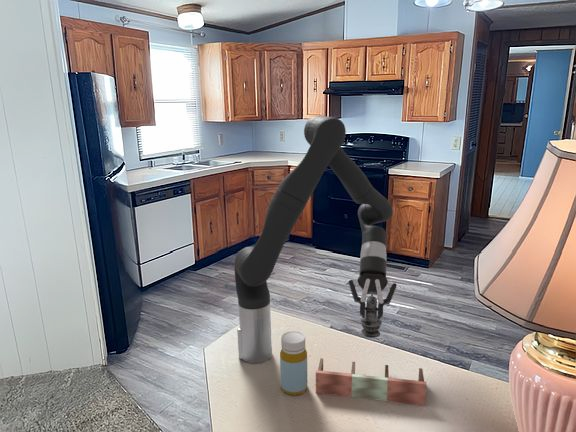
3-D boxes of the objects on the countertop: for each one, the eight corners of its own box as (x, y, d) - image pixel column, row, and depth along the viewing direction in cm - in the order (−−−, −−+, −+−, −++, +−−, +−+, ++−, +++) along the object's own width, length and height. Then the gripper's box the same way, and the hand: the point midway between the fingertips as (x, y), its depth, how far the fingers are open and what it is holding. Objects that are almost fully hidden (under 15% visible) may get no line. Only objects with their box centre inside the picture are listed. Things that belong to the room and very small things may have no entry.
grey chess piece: (380, 327, 123) (381, 289, 120) (382, 338, 117) (384, 298, 114) (359, 327, 123) (360, 288, 120) (360, 337, 118) (361, 298, 114)
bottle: (294, 376, 118) (293, 327, 114) (312, 387, 113) (312, 336, 109) (275, 387, 113) (274, 337, 109) (294, 400, 108) (293, 347, 104)
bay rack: (315, 392, 111) (315, 372, 109) (320, 370, 120) (320, 351, 118) (425, 405, 105) (426, 384, 104) (421, 381, 114) (422, 361, 113)
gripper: (348, 253, 123) (344, 311, 115) (399, 256, 120) (398, 315, 112) (349, 264, 130) (345, 319, 121) (397, 266, 127) (397, 324, 118)
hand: (371, 317), depth 117 cm, fingers closed on grey chess piece, 3 cm apart
